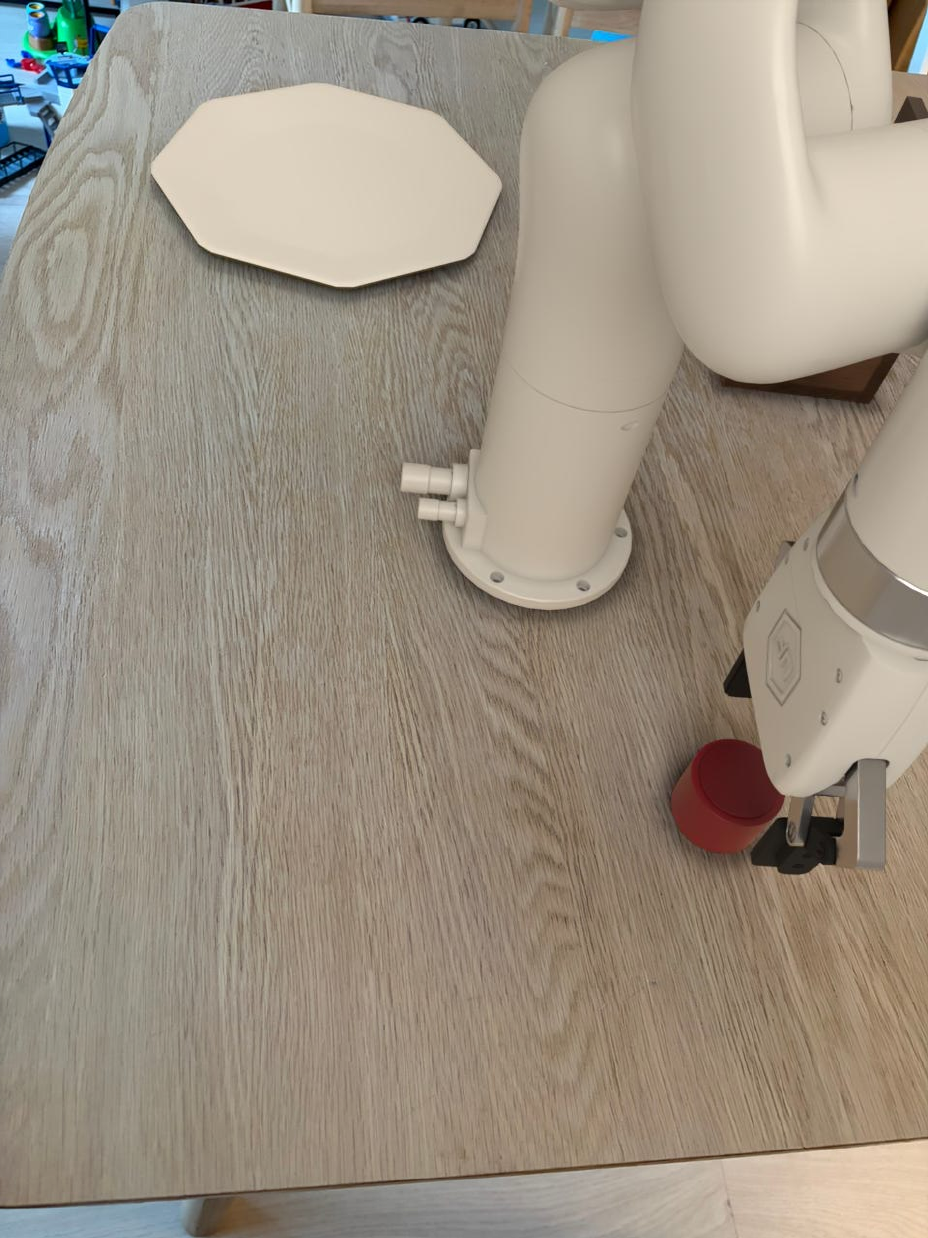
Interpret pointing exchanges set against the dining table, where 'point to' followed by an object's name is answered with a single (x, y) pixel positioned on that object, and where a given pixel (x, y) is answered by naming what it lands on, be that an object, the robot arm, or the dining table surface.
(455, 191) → the plate
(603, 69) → the robot arm
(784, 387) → the shelf
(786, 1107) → the dining table surface
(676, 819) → the cap
